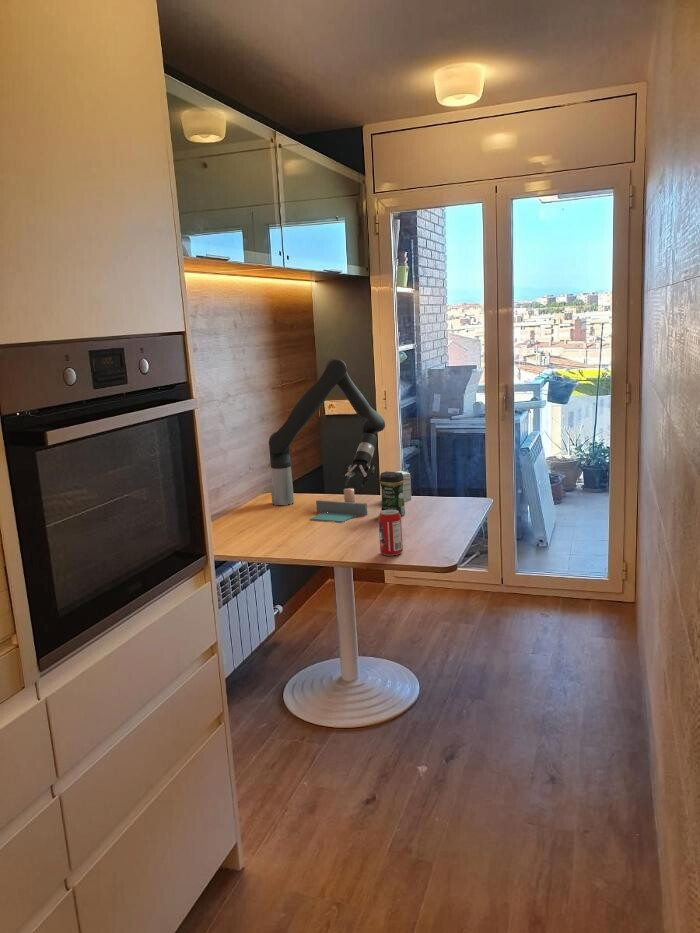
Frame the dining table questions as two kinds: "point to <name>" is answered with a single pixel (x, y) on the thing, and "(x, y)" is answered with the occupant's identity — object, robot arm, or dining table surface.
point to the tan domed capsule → (349, 495)
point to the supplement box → (406, 486)
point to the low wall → (342, 507)
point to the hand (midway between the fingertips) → (353, 485)
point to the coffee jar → (392, 491)
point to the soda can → (390, 532)
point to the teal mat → (333, 517)
